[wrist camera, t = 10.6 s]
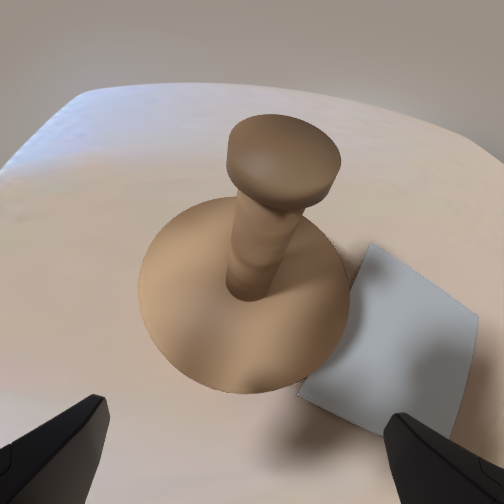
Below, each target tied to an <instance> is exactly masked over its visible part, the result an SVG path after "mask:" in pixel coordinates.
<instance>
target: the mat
mask: <svg viewBox="0 0 504 504" xmlns="http://www.w3.org/2000/svg"><path fill="white" fill-rule="evenodd" d="M478 319H479V316H477V315H476V314H475V313H473V312H472V311H471V310H469V309H468V308H467V307H465V306H464V305H463V304H461V303H460V302H459V301H457V300H456V299H455V298H453V297H452V296H451V295H449V294H448V293H446V292H445V291H444V290H442V289H441V288H439V287H438V286H437V285H435V284H434V283H432V282H431V281H429V280H428V279H427V278H425V277H424V276H422V275H421V274H419V273H418V272H416V271H415V270H413V269H412V268H411V267H409V266H408V265H406V264H405V263H403V262H402V261H400V260H399V259H397V258H395V257H394V256H392V255H391V254H389V253H388V252H386V251H385V250H383V249H382V248H380V247H378V246H377V245H375V244H374V243H372V242H371V243H370V244H369V246H368V249H367V251H366V254H365V256H364V259H363V261H362V264H361V266H360V268H359V271H358V273H357V275H356V278H355V280H354V282H353V285H352V287H351V289H350V308H349V315H348V320H347V324H346V327H345V330H344V332H343V335H342V337H341V339H340V341H339V343H338V345H337V346H336V348H335V350H334V351H333V352H332V354H331V355H330V356H329V357H328V359H327V360H326V361H325V362H324V363H323V364H322V365H321V366H320V367H319V368H318V369H317V370H315V371H314V372H312V373H311V374H310V375H308V376H307V377H306V379H305V381H304V382H303V384H302V386H301V388H300V389H299V391H298V393H297V395H298V396H300V397H302V398H303V399H305V400H307V401H309V402H311V403H313V404H315V405H317V406H319V407H321V408H322V409H324V410H326V411H328V412H330V413H332V414H334V415H336V416H338V417H340V418H343V419H345V420H347V421H349V422H351V423H353V424H355V425H357V426H359V427H362V428H364V429H366V430H368V431H370V432H373V433H375V434H377V435H380V436H382V437H383V431H384V428H385V426H386V425H387V423H388V421H389V420H390V418H391V416H392V415H393V414H394V413H399V412H405V413H407V414H409V415H410V416H412V417H413V418H415V419H417V420H418V421H420V422H421V423H423V424H425V425H426V426H428V427H430V428H431V429H433V430H434V431H436V432H438V433H439V434H441V435H443V436H444V437H446V438H448V439H449V437H450V435H451V432H452V429H453V426H454V423H455V420H456V417H457V414H458V411H459V408H460V405H461V401H462V398H463V394H464V390H465V387H466V383H467V379H468V375H469V370H470V366H471V361H472V356H473V351H474V345H475V339H476V333H477V326H478Z"/></svg>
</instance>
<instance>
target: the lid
mask: <svg viewBox="0 0 504 504" xmlns="http://www.w3.org/2000/svg"><path fill="white" fill-rule="evenodd" d="M340 166H341V156H340V153H339V150H338V148H337V147H336V145H335V144H334V142H333V141H332V140H331V139H330V138H329V137H328V136H327V135H326V134H325V133H324V132H322V131H321V130H320V129H318V128H317V127H315V126H313V125H311V124H309V123H307V122H305V121H303V120H300V119H297V118H293V117H290V116H284V115H276V114H264V115H257V116H253V117H250V118H247V119H245V120H243V121H241V122H239V123H238V124H237V125H236V126H235V127H234V128H233V129H232V131H231V133H230V136H229V142H228V152H227V164H226V167H227V172H228V175H229V177H230V179H231V181H232V182H233V183H234V185H235V186H236V187H237V188H238V192H237V197H225V198H219V199H214V200H210V201H206V202H203V203H200V204H198V205H195V206H193V207H191V208H189V209H187V210H185V211H184V212H182V213H180V214H179V215H177V216H176V217H175V218H173V219H172V220H171V221H170V222H169V223H168V224H166V225H165V226H164V227H163V228H162V229H161V231H160V232H159V233H158V234H157V235H156V237H155V238H154V240H153V241H152V243H151V244H150V246H149V248H148V250H147V252H146V254H145V257H144V259H143V262H142V266H141V269H140V274H139V281H138V300H139V306H140V312H141V315H142V318H143V321H144V325H145V327H146V329H147V331H148V333H149V335H150V337H151V339H152V340H153V342H154V343H155V345H156V346H157V348H158V349H159V351H160V352H161V353H162V354H163V355H164V356H165V357H166V359H167V360H168V361H169V362H170V363H171V364H172V365H173V366H174V367H175V368H177V369H178V370H179V371H180V372H182V373H183V374H184V375H186V376H187V377H189V378H191V379H192V380H194V381H196V382H198V383H200V384H202V385H204V386H207V387H209V388H212V389H215V390H219V391H223V392H227V393H236V394H258V393H264V392H269V391H274V390H277V389H280V388H283V387H286V386H289V385H292V384H294V383H296V382H298V381H300V380H302V379H304V378H305V377H307V376H308V375H310V374H311V373H312V372H314V371H315V370H317V369H318V368H319V367H320V366H321V365H322V364H323V363H324V362H325V361H326V360H327V359H328V357H329V356H330V355H331V354H332V352H333V351H334V350H335V348H336V346H337V345H338V343H339V341H340V339H341V337H342V335H343V332H344V330H345V327H346V324H347V320H348V315H349V308H350V290H349V283H348V278H347V274H346V271H345V268H344V265H343V263H342V261H341V259H340V256H339V254H338V253H337V251H336V249H335V248H334V246H333V245H332V243H331V242H330V241H329V239H328V238H327V237H326V236H325V234H324V233H323V232H322V231H321V230H320V229H319V228H318V227H317V226H316V225H314V224H313V223H312V222H311V221H309V220H308V219H307V218H305V217H304V216H302V215H303V212H304V210H305V208H307V207H310V206H313V205H315V204H317V203H319V202H320V201H322V200H323V199H324V198H325V197H326V195H327V194H328V192H329V190H330V188H331V186H332V184H333V182H334V180H335V178H336V176H337V174H338V172H339V169H340Z"/></svg>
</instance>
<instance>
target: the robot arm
mask: <svg viewBox="0 0 504 504" xmlns="http://www.w3.org/2000/svg"><path fill="white" fill-rule="evenodd" d="M109 422H110V414H109V409H108V405H107V401H106V398H105V397H103V396H99V395H96V394H92V395H90V396H88V397H86V398H85V399H83V400H82V401H80V402H78V403H77V404H75V405H74V406H72V407H70V408H69V409H67V410H66V411H64V412H62V413H61V414H59V415H57V416H56V417H54V418H52V419H51V420H49V421H47V422H46V423H44V424H42V425H41V426H39V427H37V428H36V429H34V430H32V431H31V432H29V433H27V434H25V435H24V436H22V437H20V438H19V439H17V440H15V441H13V442H12V443H11V444H8V445H6V446H4V447H3V448H1V449H0V504H85V501H86V498H87V495H88V492H89V490H90V487H91V484H92V481H93V478H94V476H95V473H96V470H97V467H98V465H99V462H100V458H101V454H102V450H103V446H104V442H105V437H106V433H107V429H108V426H109ZM383 437H384V442H385V446H386V451H387V455H388V460H389V465H390V469H391V473H392V476H393V479H394V482H395V486H396V489H397V492H398V495H399V498H400V502H401V504H504V469H503V468H500V467H498V466H496V465H494V464H492V463H490V462H488V461H486V460H484V459H482V458H481V457H478V456H477V455H475V454H473V453H472V452H470V451H468V450H466V449H465V448H463V447H461V446H460V445H458V444H456V443H454V442H453V441H451V440H449V439H448V438H446V437H444V436H443V435H441V434H439V433H438V432H436V431H434V430H433V429H431V428H430V427H428V426H426V425H425V424H423V423H421V422H420V421H418V420H417V419H415V418H413V417H412V416H410V415H409V414H407V413H405V412H399V413H394V414H393V415H392V416H391V418H390V420H389V421H388V423H387V425H386V426H385V428H384V431H383Z"/></svg>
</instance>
